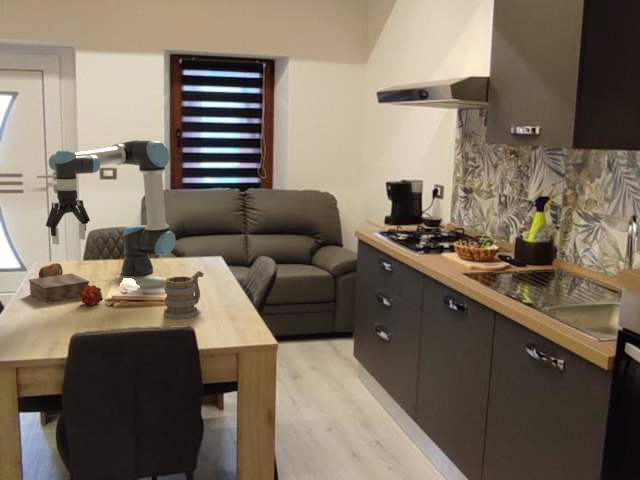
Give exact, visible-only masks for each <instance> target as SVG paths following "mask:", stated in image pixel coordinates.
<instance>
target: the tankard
mask: <svg viewBox="0 0 640 480" xmlns="http://www.w3.org/2000/svg"><path fill="white" fill-rule="evenodd" d="M199 277H200V278H203V277H204V272H202V271H200V270H198V271H197V272H195V273H194V274H193V275H192V276H172V277H169V278H166V282H165V283H166V284H164V289H163V290H164V292H165V293H164V294H165V295H166V297H165V300H164V302H165V303H164V304H165V307H166V308H164V309H163V317H164V318H167V319H171V320H186V319H187V320H188V319H192V318H193V317H197V316H198V315H199V314H198V307H196V306H195V305H197V304H198V303H199V302H200V301H199V300H200V298H201V289H200V286H199Z"/></svg>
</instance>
